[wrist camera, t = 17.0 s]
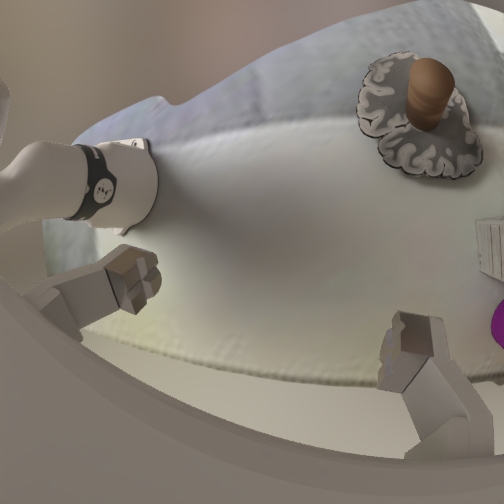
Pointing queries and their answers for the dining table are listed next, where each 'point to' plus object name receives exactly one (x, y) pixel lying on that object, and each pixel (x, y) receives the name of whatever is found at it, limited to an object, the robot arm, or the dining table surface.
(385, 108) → the brain slice
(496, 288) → the dining table surface
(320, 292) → the dining table surface
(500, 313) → the beverage can
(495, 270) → the supplement box
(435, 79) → the walnut pepper mill
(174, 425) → the robot arm
